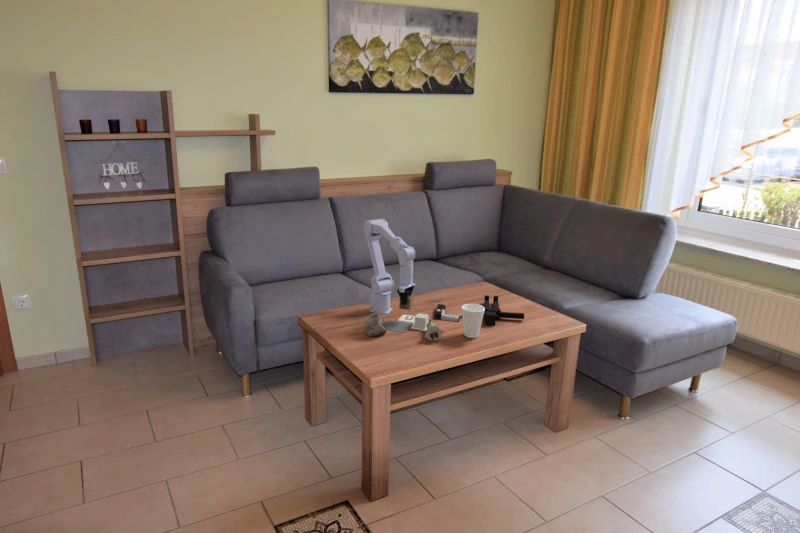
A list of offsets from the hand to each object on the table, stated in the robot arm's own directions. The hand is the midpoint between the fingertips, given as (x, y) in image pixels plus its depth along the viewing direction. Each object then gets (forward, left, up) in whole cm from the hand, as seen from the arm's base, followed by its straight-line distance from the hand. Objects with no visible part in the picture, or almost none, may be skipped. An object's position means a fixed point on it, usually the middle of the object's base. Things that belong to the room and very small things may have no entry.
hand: (405, 302), depth 254 cm
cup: (+32, -5, -10) cm, 33 cm away
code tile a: (+1, +4, -9) cm, 10 cm away
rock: (-8, -18, -10) cm, 22 cm away
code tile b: (+9, -3, -9) cm, 13 cm away
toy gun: (+16, +15, -10) cm, 24 cm away
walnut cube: (0, 0, -2) cm, 2 cm away
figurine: (+17, -11, -10) cm, 22 cm away
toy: (+36, +25, -10) cm, 45 cm away
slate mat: (-1, -7, -9) cm, 12 cm away
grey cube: (+9, -3, -9) cm, 13 cm away
